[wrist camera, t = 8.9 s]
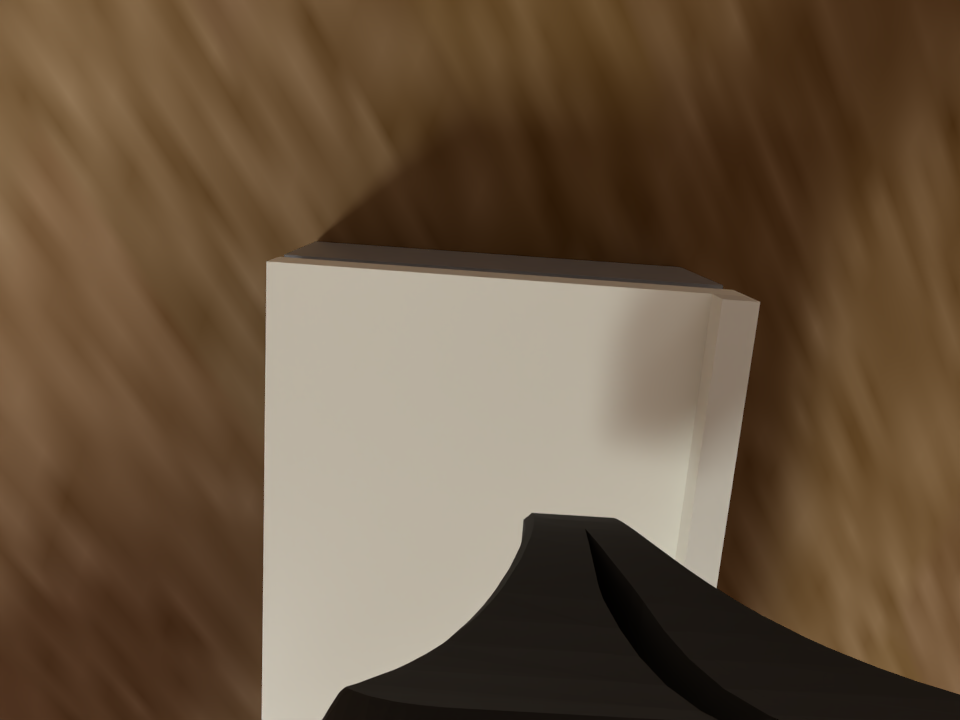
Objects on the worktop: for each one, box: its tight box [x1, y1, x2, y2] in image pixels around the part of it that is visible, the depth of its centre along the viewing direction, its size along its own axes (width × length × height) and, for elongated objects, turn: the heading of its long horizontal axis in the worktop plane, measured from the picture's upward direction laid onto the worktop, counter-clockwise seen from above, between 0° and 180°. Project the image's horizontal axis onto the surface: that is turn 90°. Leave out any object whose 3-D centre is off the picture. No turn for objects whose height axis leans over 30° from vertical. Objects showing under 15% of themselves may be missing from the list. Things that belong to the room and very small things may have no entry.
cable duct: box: [284, 241, 723, 289], centre depth 18 cm, size 20×8×3 cm, turn 176°
